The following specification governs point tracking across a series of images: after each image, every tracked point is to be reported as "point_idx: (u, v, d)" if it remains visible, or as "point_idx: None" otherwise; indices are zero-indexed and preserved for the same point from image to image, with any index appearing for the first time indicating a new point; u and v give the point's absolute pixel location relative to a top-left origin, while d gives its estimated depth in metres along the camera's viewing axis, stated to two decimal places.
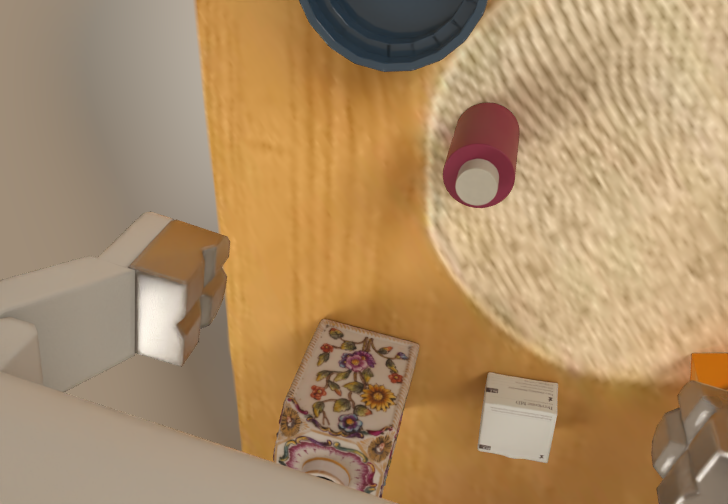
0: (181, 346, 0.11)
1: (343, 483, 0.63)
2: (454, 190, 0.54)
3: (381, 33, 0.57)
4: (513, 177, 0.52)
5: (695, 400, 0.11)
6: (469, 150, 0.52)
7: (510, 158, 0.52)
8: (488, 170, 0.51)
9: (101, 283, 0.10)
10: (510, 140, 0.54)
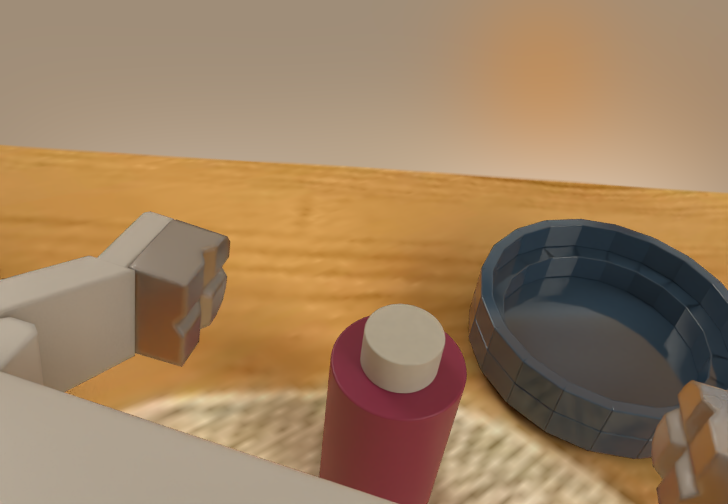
0: (181, 346, 0.11)
1: None
2: (362, 328, 0.29)
3: None
4: (412, 417, 0.25)
5: (695, 400, 0.11)
6: (447, 346, 0.28)
7: (444, 415, 0.26)
8: (441, 353, 0.26)
9: (100, 283, 0.10)
10: (437, 452, 0.28)
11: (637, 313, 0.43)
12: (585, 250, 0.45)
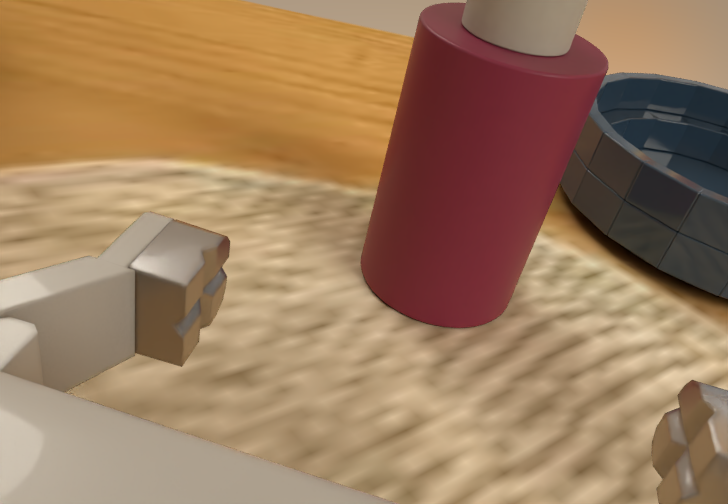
0: (181, 346, 0.11)
1: None
2: (461, 7, 0.21)
3: None
4: (539, 71, 0.17)
5: (696, 400, 0.11)
6: (579, 40, 0.20)
7: (580, 91, 0.18)
8: (586, 0, 0.18)
9: (100, 283, 0.10)
10: (548, 183, 0.20)
11: None
12: (696, 121, 0.37)
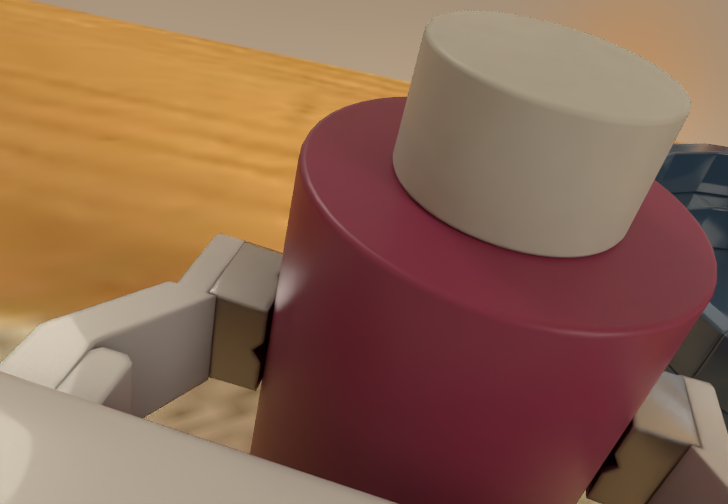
0: (257, 370, 0.11)
1: None
2: (402, 110, 0.10)
3: None
4: (570, 325, 0.07)
5: None
6: None
7: (664, 349, 0.08)
8: (679, 131, 0.08)
9: (184, 310, 0.10)
10: (578, 493, 0.09)
11: None
12: None
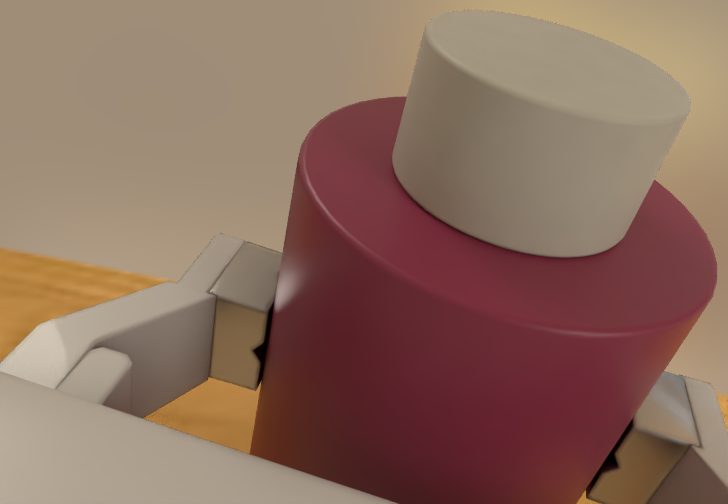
0: (257, 370, 0.11)
1: None
2: (402, 110, 0.10)
3: None
4: (569, 325, 0.07)
5: None
6: None
7: (663, 350, 0.08)
8: None
9: (184, 310, 0.10)
10: (578, 493, 0.09)
11: None
12: None
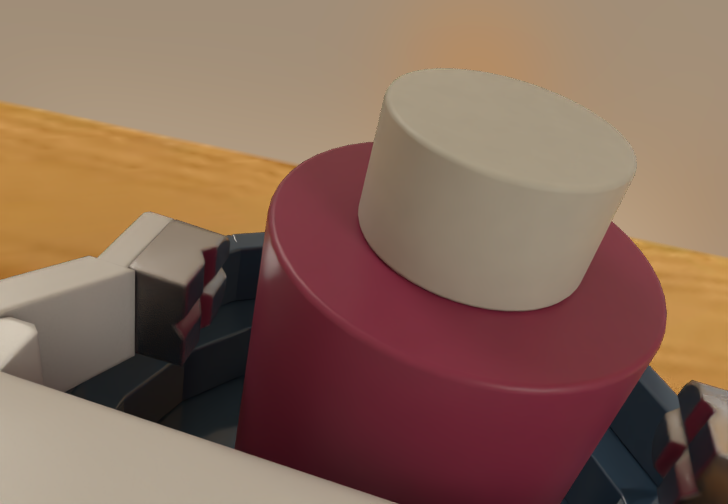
0: (181, 346, 0.11)
1: None
2: None
3: None
4: (516, 382, 0.07)
5: (696, 400, 0.11)
6: None
7: (610, 400, 0.08)
8: None
9: (100, 283, 0.10)
10: None
11: None
12: None
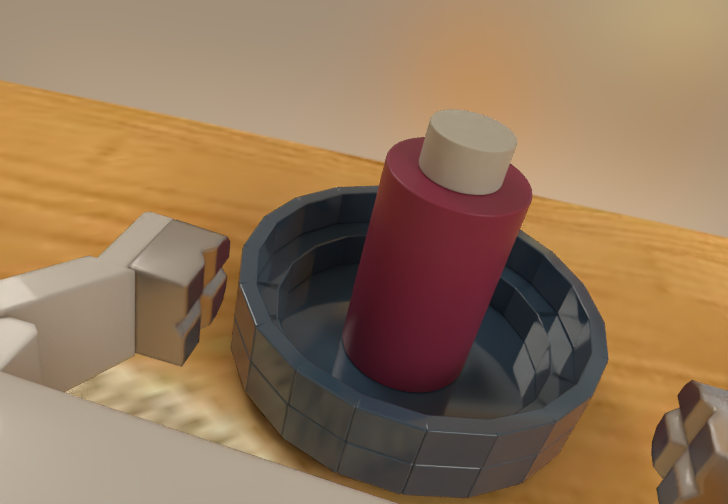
0: (181, 346, 0.11)
1: None
2: (421, 143, 0.26)
3: (284, 304, 0.31)
4: (474, 212, 0.23)
5: (695, 400, 0.11)
6: (512, 172, 0.26)
7: (507, 223, 0.23)
8: (512, 153, 0.24)
9: (101, 283, 0.10)
10: (486, 286, 0.25)
11: None
12: None
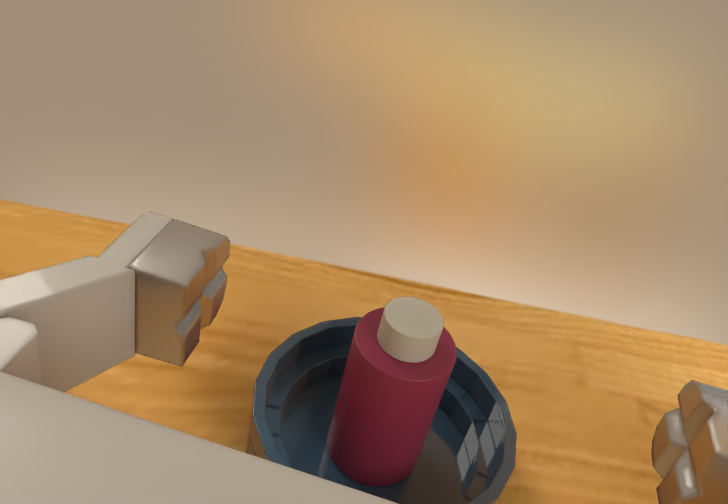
0: (181, 346, 0.11)
1: None
2: (380, 314, 0.37)
3: (284, 415, 0.42)
4: (412, 379, 0.34)
5: (696, 400, 0.11)
6: (444, 336, 0.37)
7: (436, 383, 0.34)
8: (439, 335, 0.34)
9: (100, 283, 0.10)
10: (425, 418, 0.36)
11: (432, 421, 0.44)
12: None
